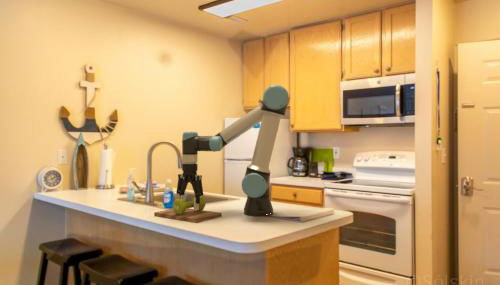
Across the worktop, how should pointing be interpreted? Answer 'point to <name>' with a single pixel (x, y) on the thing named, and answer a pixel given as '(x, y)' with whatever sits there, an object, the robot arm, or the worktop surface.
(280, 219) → the worktop surface
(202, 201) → the dumbbell
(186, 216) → the board
